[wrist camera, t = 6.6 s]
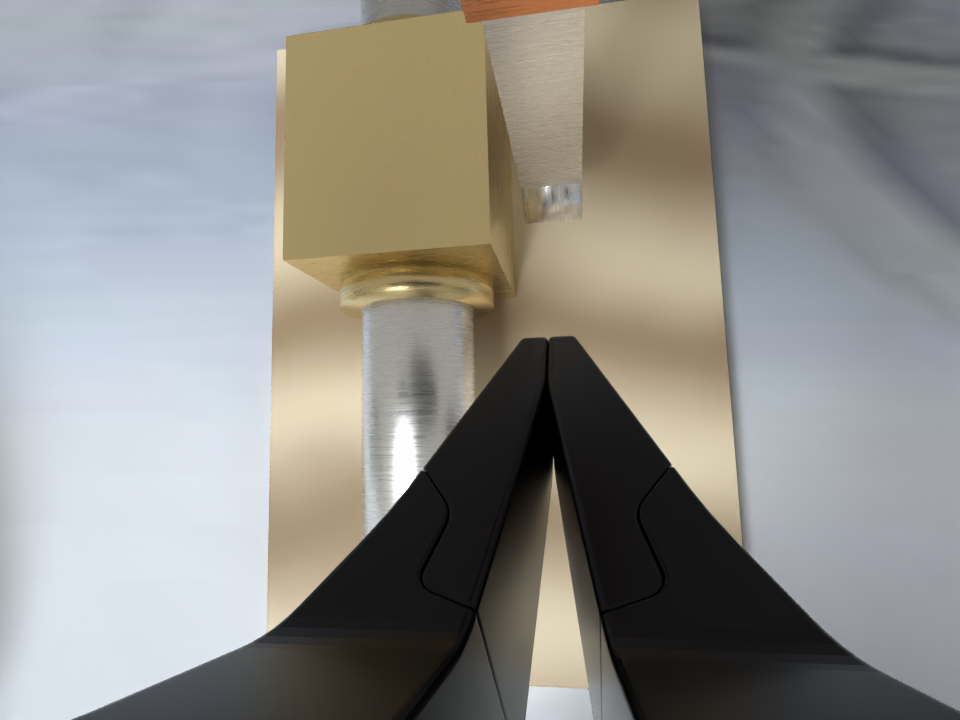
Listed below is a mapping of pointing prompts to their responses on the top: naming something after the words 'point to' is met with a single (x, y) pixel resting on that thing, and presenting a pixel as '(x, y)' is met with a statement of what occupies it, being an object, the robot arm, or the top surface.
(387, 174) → the valve pipe
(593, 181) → the mounting board
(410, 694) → the robot arm
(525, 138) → the valve lever
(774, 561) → the top surface
